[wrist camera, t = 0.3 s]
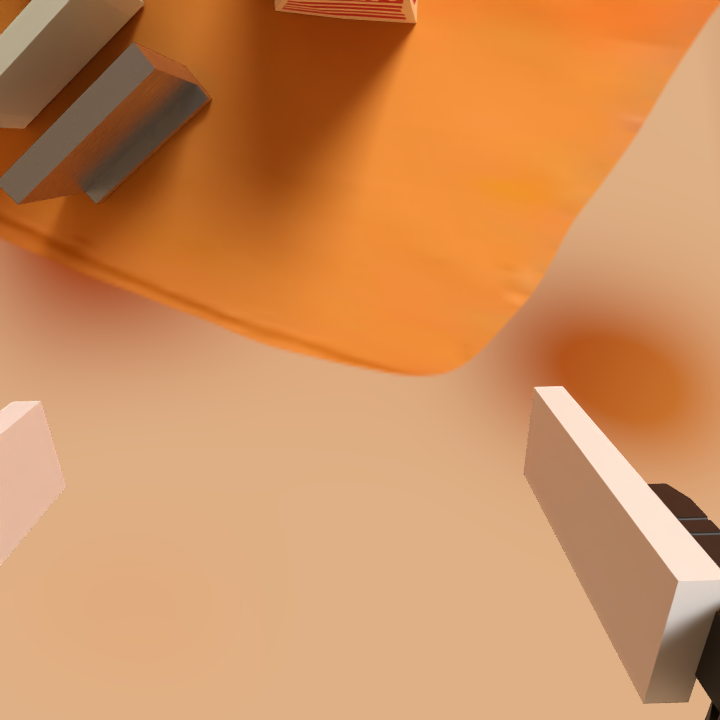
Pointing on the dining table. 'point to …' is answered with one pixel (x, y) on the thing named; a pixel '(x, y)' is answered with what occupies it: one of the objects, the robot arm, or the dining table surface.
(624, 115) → the dining table surface
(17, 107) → the socket block
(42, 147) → the plate
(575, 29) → the dining table surface
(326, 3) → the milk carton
